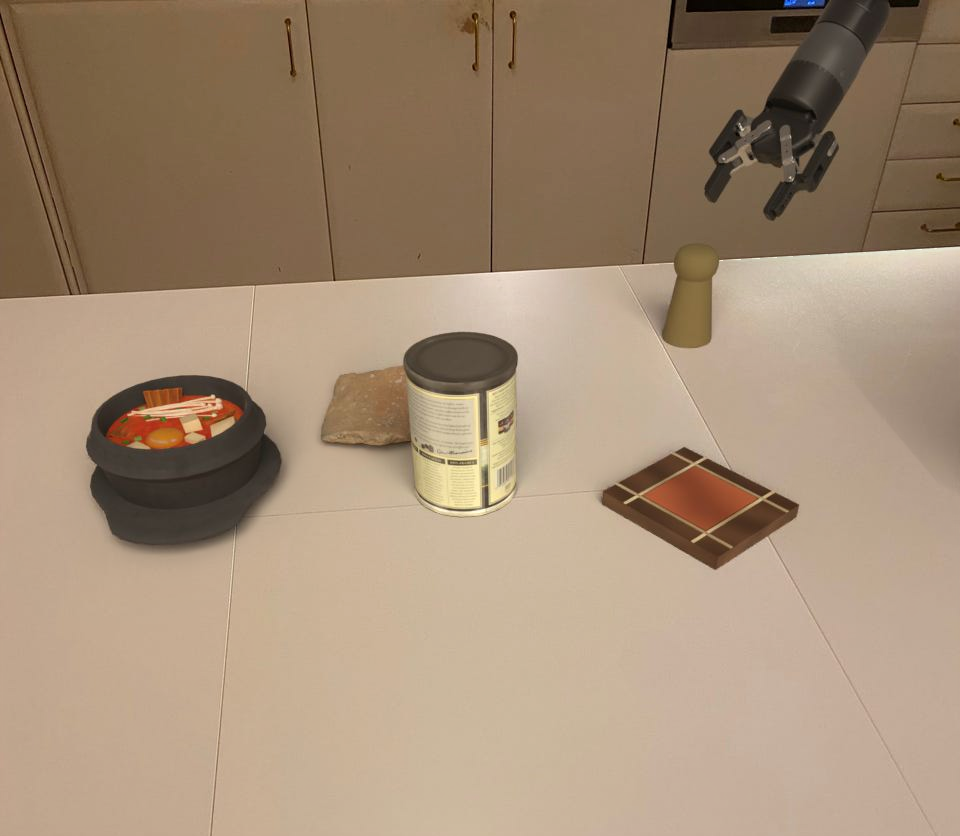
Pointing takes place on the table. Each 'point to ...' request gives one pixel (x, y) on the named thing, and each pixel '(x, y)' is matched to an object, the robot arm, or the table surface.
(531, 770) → the table surface
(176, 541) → the casserole
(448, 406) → the coffee can
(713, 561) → the grid board
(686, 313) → the pawn
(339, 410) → the stone
